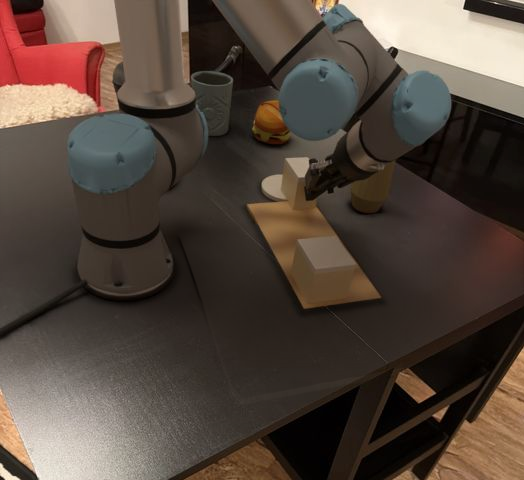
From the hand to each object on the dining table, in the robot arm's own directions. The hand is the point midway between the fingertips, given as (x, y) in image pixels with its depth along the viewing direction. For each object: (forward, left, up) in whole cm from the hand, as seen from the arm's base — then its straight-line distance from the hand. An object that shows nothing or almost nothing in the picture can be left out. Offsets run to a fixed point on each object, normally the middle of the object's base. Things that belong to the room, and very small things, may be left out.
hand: (308, 193), depth 94 cm
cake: (-17, -17, -4) cm, 24 cm away
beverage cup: (-5, +50, -5) cm, 51 cm away
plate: (+5, +9, -5) cm, 12 cm away
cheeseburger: (+22, +29, -5) cm, 37 cm away
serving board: (-9, -8, -5) cm, 13 cm away
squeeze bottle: (+14, -6, -5) cm, 16 cm away
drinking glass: (+13, +42, -5) cm, 45 cm away
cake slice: (+3, +4, -4) cm, 7 cm away
